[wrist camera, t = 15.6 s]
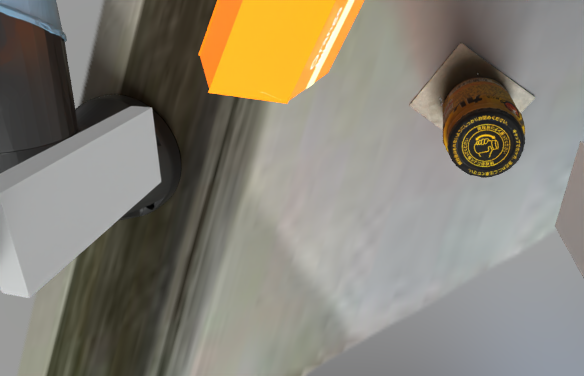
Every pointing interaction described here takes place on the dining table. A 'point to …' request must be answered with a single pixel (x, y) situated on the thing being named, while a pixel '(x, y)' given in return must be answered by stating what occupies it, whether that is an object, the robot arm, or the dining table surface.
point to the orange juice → (273, 45)
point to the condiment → (476, 113)
